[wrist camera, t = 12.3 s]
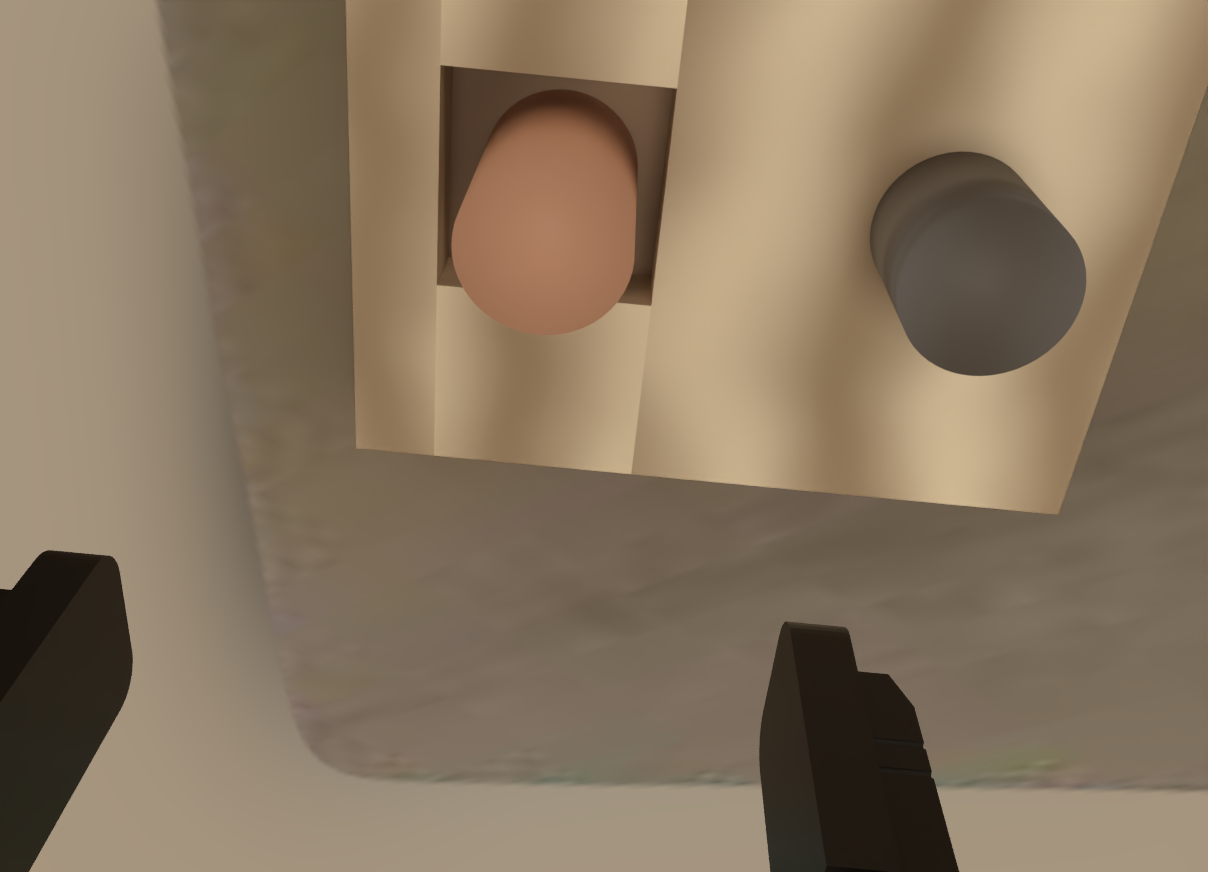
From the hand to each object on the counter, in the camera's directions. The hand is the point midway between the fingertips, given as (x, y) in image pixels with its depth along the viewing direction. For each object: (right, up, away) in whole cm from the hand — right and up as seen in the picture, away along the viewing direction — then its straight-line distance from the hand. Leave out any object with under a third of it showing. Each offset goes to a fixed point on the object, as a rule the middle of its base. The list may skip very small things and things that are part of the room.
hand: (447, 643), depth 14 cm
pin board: (+6, +10, +17) cm, 21 cm away
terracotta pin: (+1, +10, +16) cm, 19 cm away
